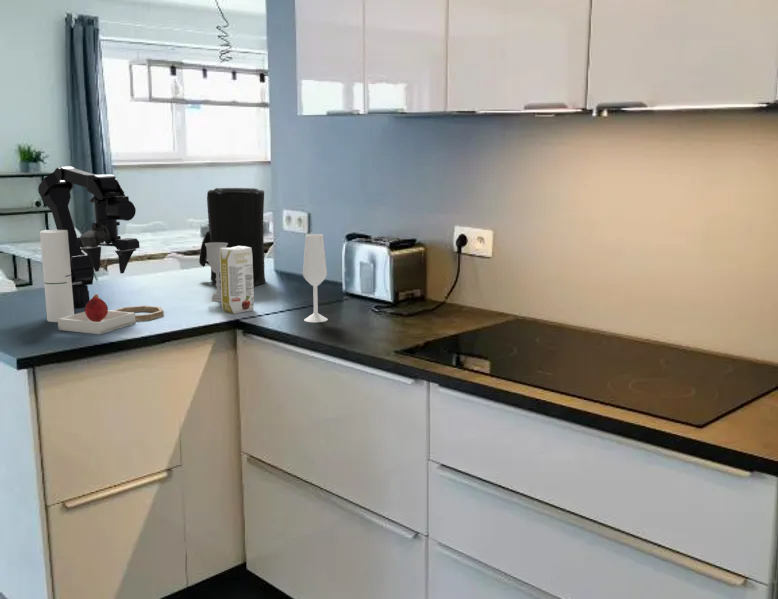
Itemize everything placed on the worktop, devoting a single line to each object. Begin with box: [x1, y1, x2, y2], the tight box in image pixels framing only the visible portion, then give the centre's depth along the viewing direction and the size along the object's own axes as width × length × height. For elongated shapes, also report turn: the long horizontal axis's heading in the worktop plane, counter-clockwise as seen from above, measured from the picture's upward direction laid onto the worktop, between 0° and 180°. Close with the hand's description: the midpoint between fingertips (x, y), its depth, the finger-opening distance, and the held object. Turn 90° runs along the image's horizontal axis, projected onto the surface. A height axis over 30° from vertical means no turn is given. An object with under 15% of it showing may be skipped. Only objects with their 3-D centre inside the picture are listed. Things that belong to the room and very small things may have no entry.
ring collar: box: [112, 305, 165, 322], centre depth 230 cm, size 14×14×2 cm
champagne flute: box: [302, 233, 329, 323], centre depth 223 cm, size 7×7×24 cm
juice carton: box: [220, 246, 255, 315], centre depth 235 cm, size 8×9×19 cm
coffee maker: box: [198, 187, 266, 287], centre depth 281 cm, size 23×32×34 cm
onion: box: [84, 294, 109, 322], centre depth 216 cm, size 6×6×8 cm
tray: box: [57, 309, 137, 335], centre depth 217 cm, size 14×14×3 cm
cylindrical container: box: [39, 229, 75, 323], centre depth 223 cm, size 7×7×25 cm
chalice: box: [205, 242, 228, 302], centre depth 252 cm, size 7×7×18 cm
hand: (109, 272), depth 232 cm, fingers open, 9 cm apart
